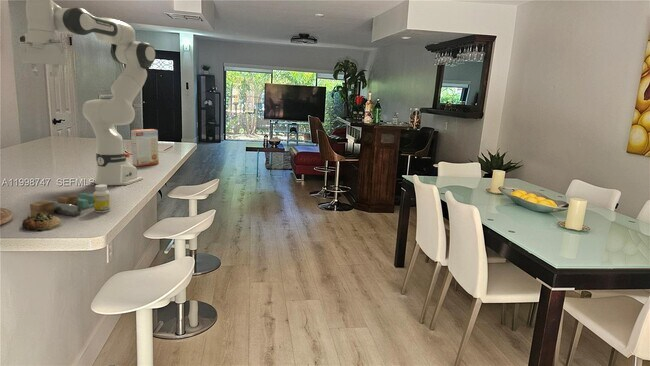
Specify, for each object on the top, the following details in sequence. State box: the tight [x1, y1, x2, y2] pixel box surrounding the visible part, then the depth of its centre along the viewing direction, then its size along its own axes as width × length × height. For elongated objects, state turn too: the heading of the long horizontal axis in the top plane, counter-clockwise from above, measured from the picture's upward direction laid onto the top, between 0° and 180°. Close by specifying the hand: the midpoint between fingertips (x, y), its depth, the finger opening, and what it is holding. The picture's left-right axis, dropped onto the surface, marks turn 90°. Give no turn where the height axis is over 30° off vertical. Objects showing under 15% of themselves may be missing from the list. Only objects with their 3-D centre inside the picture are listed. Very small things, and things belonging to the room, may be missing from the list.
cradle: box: [77, 192, 94, 210], centre depth 165 cm, size 10×10×3 cm
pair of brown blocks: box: [29, 194, 79, 216], centre depth 154 cm, size 16×4×4 cm, turn 162°
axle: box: [50, 200, 82, 217], centre depth 153 cm, size 4×12×4 cm, turn 72°
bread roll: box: [21, 213, 62, 232], centre depth 139 cm, size 11×11×5 cm
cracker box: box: [130, 128, 160, 167], centre depth 250 cm, size 14×6×21 cm, turn 144°
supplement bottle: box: [92, 184, 111, 213], centre depth 158 cm, size 5×5×10 cm
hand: (44, 76), depth 164 cm, fingers open, 8 cm apart
